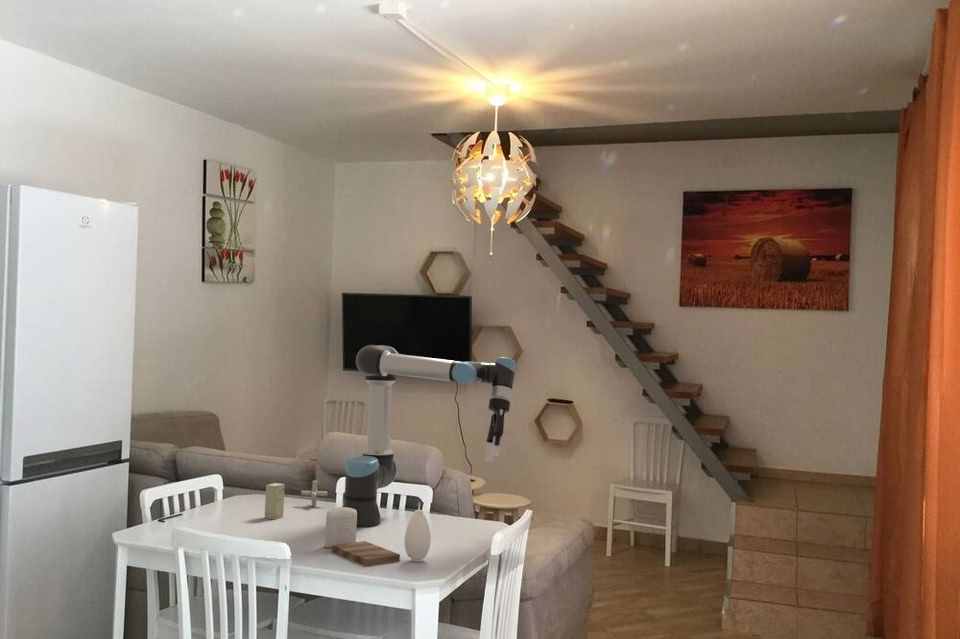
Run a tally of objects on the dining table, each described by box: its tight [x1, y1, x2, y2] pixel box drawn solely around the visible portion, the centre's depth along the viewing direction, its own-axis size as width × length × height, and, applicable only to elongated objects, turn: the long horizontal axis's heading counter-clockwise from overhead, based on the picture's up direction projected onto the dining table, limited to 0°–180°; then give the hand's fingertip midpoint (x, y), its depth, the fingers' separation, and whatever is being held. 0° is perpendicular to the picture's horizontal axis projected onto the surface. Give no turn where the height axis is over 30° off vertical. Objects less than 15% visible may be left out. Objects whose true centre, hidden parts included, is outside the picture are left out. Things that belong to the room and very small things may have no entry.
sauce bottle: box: [404, 501, 432, 563], centre depth 258 cm, size 8×8×18 cm
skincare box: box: [264, 482, 286, 520], centre depth 311 cm, size 6×4×12 cm
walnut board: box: [331, 540, 401, 567], centre depth 261 cm, size 20×12×2 cm, turn 40°
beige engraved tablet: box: [324, 506, 357, 549], centre depth 273 cm, size 10×4×12 cm, turn 119°
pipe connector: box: [300, 480, 328, 507], centre depth 335 cm, size 10×10×10 cm
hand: (491, 458), depth 298 cm, fingers open, 13 cm apart
